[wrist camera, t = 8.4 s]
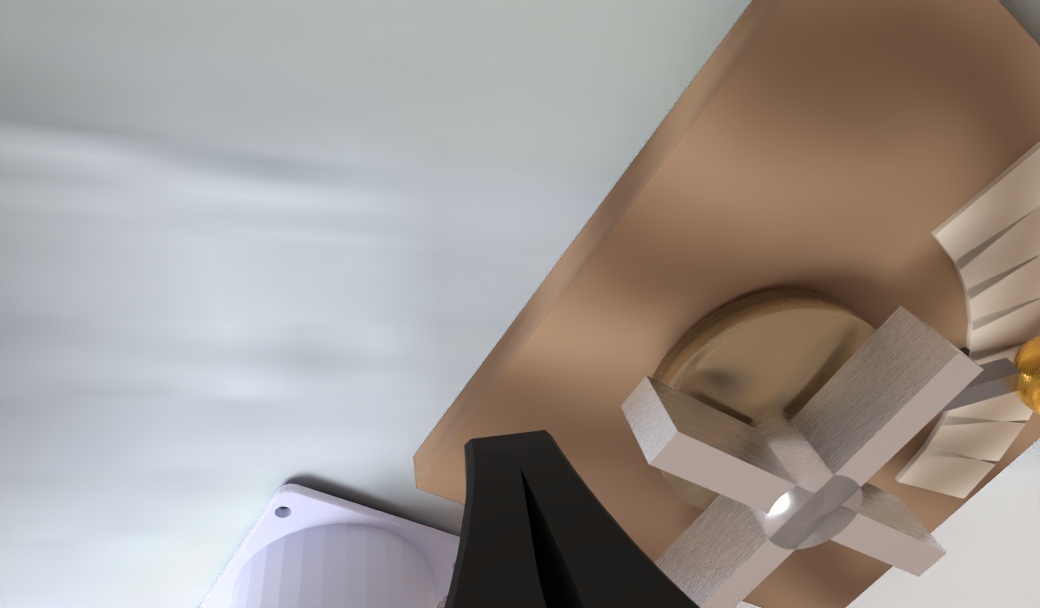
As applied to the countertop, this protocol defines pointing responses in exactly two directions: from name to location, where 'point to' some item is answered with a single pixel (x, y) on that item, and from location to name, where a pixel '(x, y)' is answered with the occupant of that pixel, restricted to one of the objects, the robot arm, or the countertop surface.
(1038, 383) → the capstan
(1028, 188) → the lever board
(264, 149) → the countertop surface
